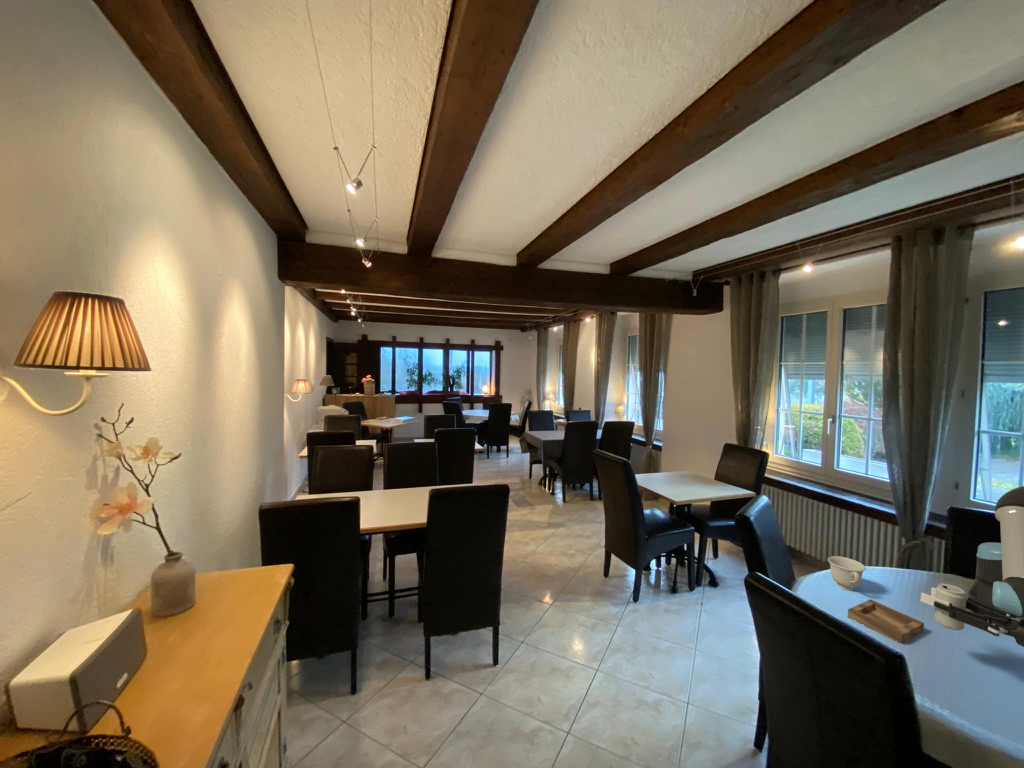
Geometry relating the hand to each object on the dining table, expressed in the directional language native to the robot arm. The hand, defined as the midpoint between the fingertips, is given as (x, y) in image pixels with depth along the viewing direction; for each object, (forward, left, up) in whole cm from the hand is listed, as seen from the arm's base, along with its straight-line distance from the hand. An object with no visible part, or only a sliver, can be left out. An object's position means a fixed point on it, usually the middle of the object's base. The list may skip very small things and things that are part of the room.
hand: (926, 594), depth 129 cm
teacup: (-16, -29, -18) cm, 38 cm away
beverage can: (0, +5, -7) cm, 9 cm away
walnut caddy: (-2, -11, -18) cm, 21 cm away
